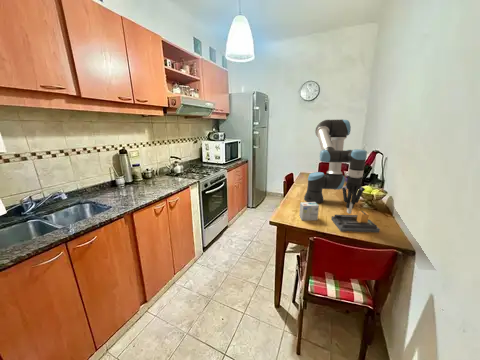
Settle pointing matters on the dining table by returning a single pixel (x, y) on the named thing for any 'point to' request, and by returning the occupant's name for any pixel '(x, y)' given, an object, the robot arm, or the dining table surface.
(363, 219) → the lever
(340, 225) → the breaker panel
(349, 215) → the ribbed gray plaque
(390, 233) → the dining table surface
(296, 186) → the dining table surface
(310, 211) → the light bulb box
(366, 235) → the dining table surface
